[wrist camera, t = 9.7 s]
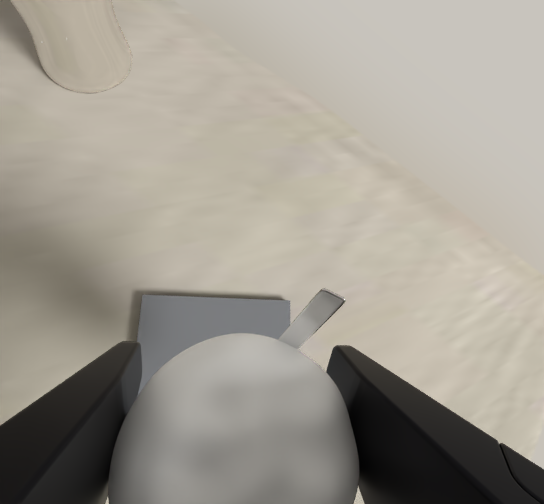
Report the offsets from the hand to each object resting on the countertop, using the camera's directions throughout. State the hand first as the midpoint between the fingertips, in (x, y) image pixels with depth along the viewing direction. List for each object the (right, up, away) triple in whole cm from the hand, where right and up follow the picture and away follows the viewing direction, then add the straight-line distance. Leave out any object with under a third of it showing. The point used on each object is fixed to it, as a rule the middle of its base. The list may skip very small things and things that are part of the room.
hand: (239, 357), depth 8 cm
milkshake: (-1, -3, +6) cm, 7 cm away
